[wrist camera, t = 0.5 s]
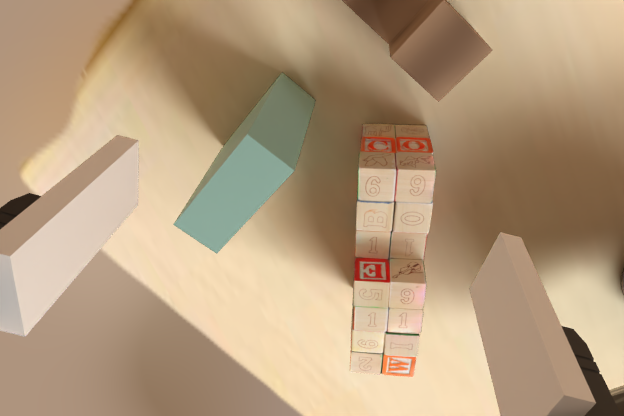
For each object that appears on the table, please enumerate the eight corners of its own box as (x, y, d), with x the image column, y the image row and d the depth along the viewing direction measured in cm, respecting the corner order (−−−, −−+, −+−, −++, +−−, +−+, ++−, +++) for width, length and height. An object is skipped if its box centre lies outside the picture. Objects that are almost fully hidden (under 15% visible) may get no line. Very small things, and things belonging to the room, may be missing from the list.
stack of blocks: (360, 121, 44) (357, 185, 33) (427, 123, 43) (445, 189, 33) (353, 288, 55) (348, 374, 45) (405, 292, 55) (413, 380, 44)
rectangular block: (315, 100, 43) (294, 170, 31) (254, 169, 48) (216, 253, 36) (282, 72, 42) (247, 134, 30) (223, 146, 47) (173, 224, 35)
